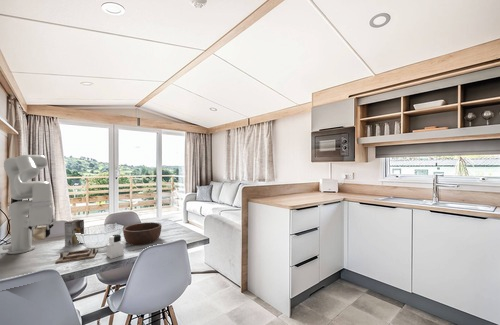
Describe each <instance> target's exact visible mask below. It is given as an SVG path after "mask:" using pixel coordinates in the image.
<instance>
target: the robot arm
mask: <svg viewBox="0 0 500 325" xmlns="http://www.w3.org/2000/svg"><path fill="white" fill-rule="evenodd" d="M47 166H48V159H47V158H46V157H45V155H41V154H21V155H18V156H17V157H7V158H6V159H5V160H4V162H3V168H4V169H3V170H4V171H5V174H6V176H7V178H8V180H9V190H10V196H11V199H13V200H18V201H15V202H12V203H10V205H9V206H8V213H9V218H10V244H9V245H3V246H2V248H1V249H2V250H3V251H5V250H7V252H6V253H7V254H8V255H17V254H23V253H28V252H31V251H33V250H35V248H36V246H35V245H32V242H33V229H35V228H37V227H38V226H45V225H46V237H47V238H48V237H50V235H51V229H52V228H53V227H54V226H55V225H57V224H58V221H57V219H55V215H54V209H53V207H52V205H51V183H50V182H49V181H46V180H38V181H37V180H35V181H33V180H32V181H29V180H31V179H34V178H36V177H37V176H39V174H40V170H43V169H45V168H46V167H47ZM29 199H30V200H29ZM19 200H21V201H19Z"/></svg>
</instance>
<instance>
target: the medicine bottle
mask: <svg viewBox="0 0 500 325" xmlns="http://www.w3.org/2000/svg"><path fill="white" fill-rule="evenodd" d="M108 241H109V243H107V244H106V246H105V247H106V248H105V249H106V256H107V257H108V258H109V259H116V258H119V257H122V256H124V255H125V250H124V248H125V245H124V243H123V242H122V237H121V234H112V235H110V236H109V237H108Z"/></svg>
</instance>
